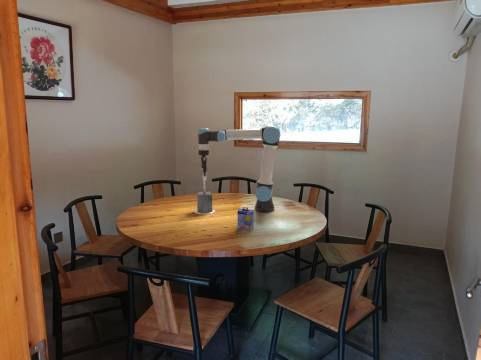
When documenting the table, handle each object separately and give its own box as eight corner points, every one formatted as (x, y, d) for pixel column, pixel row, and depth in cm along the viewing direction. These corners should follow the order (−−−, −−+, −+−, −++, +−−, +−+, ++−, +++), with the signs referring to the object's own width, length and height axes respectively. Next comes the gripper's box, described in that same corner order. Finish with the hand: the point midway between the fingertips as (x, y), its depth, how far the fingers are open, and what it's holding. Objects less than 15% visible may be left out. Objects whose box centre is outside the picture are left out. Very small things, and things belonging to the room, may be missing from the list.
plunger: (209, 196, 279) (209, 171, 275) (210, 198, 271) (209, 173, 267) (198, 196, 277) (198, 171, 274) (199, 198, 270) (198, 173, 266)
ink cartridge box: (237, 229, 237) (237, 207, 234) (238, 226, 242) (238, 205, 239) (252, 230, 235) (252, 208, 232) (253, 227, 240) (253, 206, 237)
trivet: (214, 209, 285) (214, 208, 285) (216, 214, 270) (216, 213, 270) (193, 210, 283) (193, 209, 283) (194, 215, 267) (194, 214, 267)
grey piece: (211, 208, 285) (211, 190, 283) (212, 213, 271) (212, 194, 269) (196, 208, 283) (196, 190, 281) (197, 213, 270) (197, 194, 267)
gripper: (197, 148, 279) (198, 175, 283) (199, 151, 255) (199, 181, 259) (207, 147, 280) (208, 175, 284) (210, 151, 256) (210, 181, 260)
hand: (204, 178), depth 271 cm, fingers open, 12 cm apart
